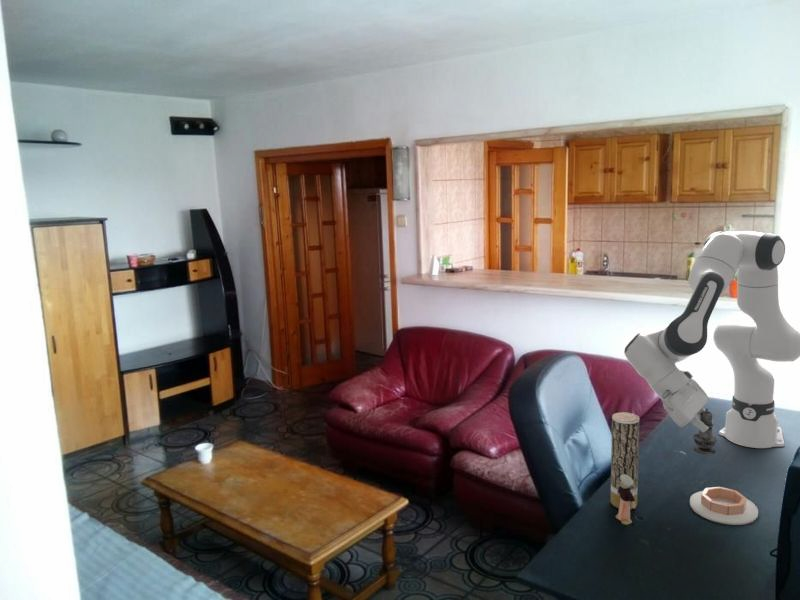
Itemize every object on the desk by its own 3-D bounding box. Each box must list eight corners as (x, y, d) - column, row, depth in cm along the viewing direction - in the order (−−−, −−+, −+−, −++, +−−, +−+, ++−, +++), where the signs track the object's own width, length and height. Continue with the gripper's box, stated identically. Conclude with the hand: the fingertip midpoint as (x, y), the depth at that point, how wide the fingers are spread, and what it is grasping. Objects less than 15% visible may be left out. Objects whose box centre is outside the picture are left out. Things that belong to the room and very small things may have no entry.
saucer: (698, 488, 176) (698, 476, 176) (762, 504, 167) (763, 491, 166) (682, 512, 164) (683, 500, 163) (751, 531, 154) (752, 518, 154)
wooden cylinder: (606, 505, 169) (607, 418, 165) (617, 495, 174) (618, 410, 170) (630, 513, 165) (633, 423, 160) (641, 503, 170) (643, 416, 165)
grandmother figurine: (608, 515, 164) (609, 470, 162) (619, 512, 166) (620, 467, 164) (629, 530, 157) (631, 483, 155) (641, 526, 159) (642, 479, 157)
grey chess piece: (719, 455, 165) (721, 412, 163) (695, 454, 167) (697, 411, 164) (713, 446, 171) (715, 404, 169) (690, 445, 172) (692, 403, 170)
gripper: (668, 390, 162) (708, 434, 157) (690, 369, 177) (726, 409, 173) (650, 403, 165) (688, 446, 161) (673, 382, 181) (708, 421, 177)
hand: (708, 427), depth 167 cm, fingers closed on grey chess piece, 4 cm apart
